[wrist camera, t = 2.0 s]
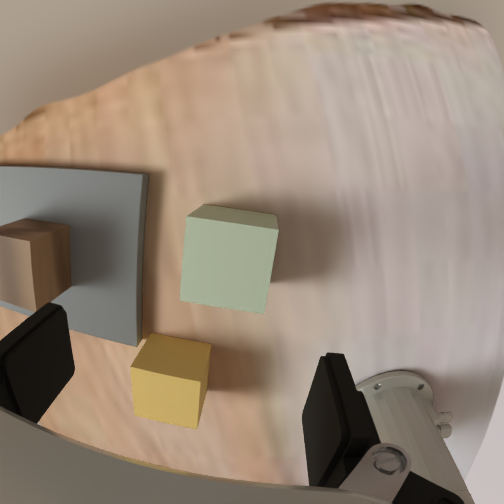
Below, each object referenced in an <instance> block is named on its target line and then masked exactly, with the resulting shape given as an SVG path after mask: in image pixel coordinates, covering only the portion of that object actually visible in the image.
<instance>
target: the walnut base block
mask: <svg viewBox="0 0 504 504" xmlns="http://www.w3.org/2000/svg"><path fill="white" fill-rule="evenodd" d="M70 287H72V283H71V263H70V225H67V224H60V223H53V222H47V221H40V220H34V219H27V218H23V219H20V220H17V221H14V222H11V223H8V224H5V225H2V226H0V300H1V301H4V302H7V303H10V304H13V305H15V306H18V307H21V308H24V309H27V310H30V311H33V312H36V311H37V310H39V309H40V308H41V307H42V306H44V305H45V304H46V303H48V302H51V301H53V300H54V299H55V298H57V297H58V296H59V295H61V294H62V293H63V292H65V291H66V290H68V289H69V288H70Z"/></svg>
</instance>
